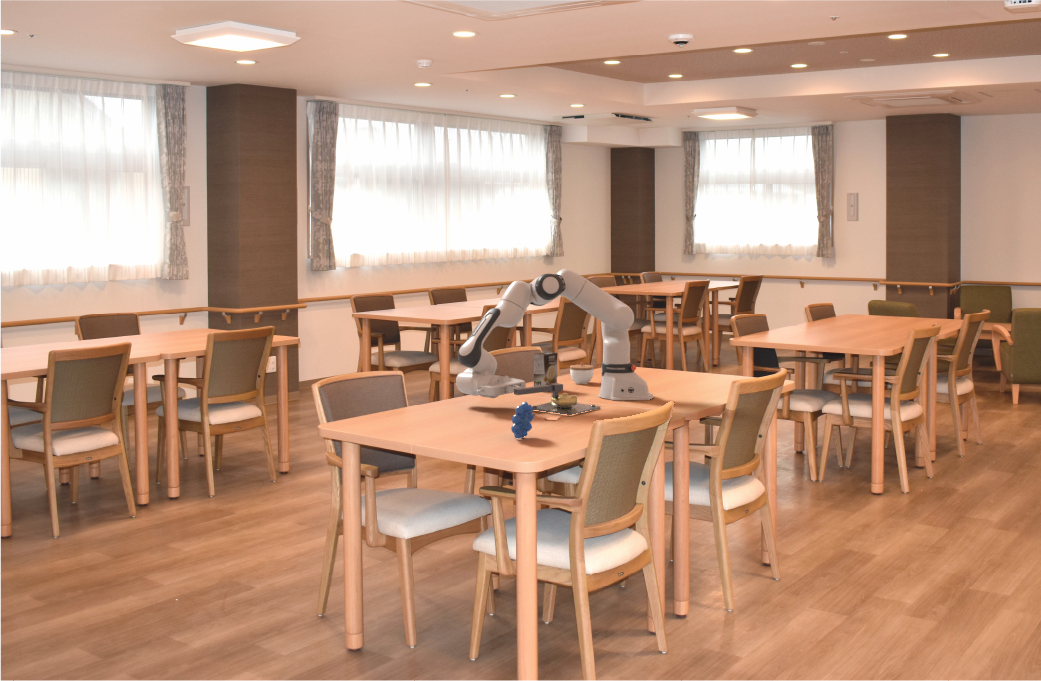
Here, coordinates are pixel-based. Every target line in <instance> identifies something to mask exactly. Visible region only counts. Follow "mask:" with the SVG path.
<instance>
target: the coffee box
mask: <svg viewBox="0 0 1041 681" xmlns="http://www.w3.org/2000/svg"><path fill="white" fill-rule="evenodd" d="M552 383H558V352H554V351H553V352H552V351H543V352H537V353H534V354H533V387H535V386H543V385H548V384H552Z"/></svg>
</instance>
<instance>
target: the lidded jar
mask: <svg viewBox="0 0 1041 681" xmlns="http://www.w3.org/2000/svg"><path fill="white" fill-rule="evenodd" d="M594 370H595V367H594V365H592V364H584V362H583V361H581V362H580V364H572V365H570V366H569V371H570V378H571V380H572V381H573V382H574V384H575V383H577V384H576V385H588V384H589V383H590V382H591V381H592V379H593V377H594Z"/></svg>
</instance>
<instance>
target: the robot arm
mask: <svg viewBox="0 0 1041 681" xmlns="http://www.w3.org/2000/svg"><path fill="white" fill-rule="evenodd" d="M559 296H560V297H561V296H562V297H564V298H565V299H567V300H568V301H570V302H571V303H573V304H574V305H575V306H578V307H579V309H582V310H583V311H584V312H586V313H588V314H590V315H591V316H593V317H594V318H596V319H597V320H599V321H600V323H601V327H600V328H601V335H602V362H601V371H600V372H601V376H602V377H601V383H600V389H599V394H598V397H599V398H602V399H606V400H607V399H608V400H612V401H651V400H653V399H654V398H653V397H654V394H653V393H652V392H649V387H648V383H647V381H646V380H645V379H644V378H642V377H641V376H640V375H638V373H637V372H635V370H637V366H636V365H635V364H633V363H631V342H630V337H629V329H630V328H631V327H632V325H633V324H634V321H635V314H634V311H633V309H632V308H631V307H630V306H628V304H626V303H624V302H623V301H621V300H620V299H618V298H617V297H615V296H613V295H612V294H610V293H608V292H607V291H605V290H603V288H600V287H599V286H598V285H596V284H594V283H593V282H592V281H590V280H588V279H587V278H586V277H584V276H582V275H581V274H579V273H577V272H575V271H573V270H571V269H568V268H562V269H560V270H559V271H557V272H556V273H543V274H541V275H540V276H538V277H536V278H534V279H533V280H532V281H531V282H529V283H527V282H526V281H524V280H514V281H513V282H511V283H510V284H509V285H508V287H507V288H506V289H505V291H504V293H503V294H502V296H501V298H500V299H499V301H498V303H497V305H496V306H495V307H493V308H490V309H489V310H487V312H485V314H484V315H483V316H482V318H481V320H480V321H479V322H478V324H477V325H476V327H475V328H474V329H473V331H472V332H471V334H470V335H469V336H468V337H467V339H466V340H465V341H464V342H463V343H462V344H461V345H460V347H459V348H458V351H457V360H458V362H459V364H461V365H463V366H464V367H466V368H467V369H464V371H462V372H459V373H458V374H457V376H456V378H455V384H456V388H457V389H458V391H459V392H461V393H462V394H466V395H468V396H474V397H475V396H476V397H478V396H480V397H483V398H490V399H496V398H497V397H499V396H503V395H508V394H512V393H513V394H514V389H518V388H526V382H527V381H525V380H523V379H519V378H516V377H515V378H514V377H509V376H508V375H498V374H497V375H496V373H497V371H498V366H499V365H498V364H499V363H498V359H497V358H496V357H495V356H494V355H493V354H491V353H490V352H489V351H487V350H486V349H485V348H484V343H485V341H486V339H487V338H488V336H490V334H491V332H492V331H493V329H495V328H496V327H501V328H502V327H503V328H513V327H516V326H517V325H519V324H520V322H521V321H522V319H523V317H524V315H525V314H526V311H527V310H528V307H530V305H532V306H537V307H542V306H546V305H547V304H550V303H552V302H553V301H554V300H555V299H556V298H558V297H559ZM652 398H653V399H652ZM650 399H651V400H650Z"/></svg>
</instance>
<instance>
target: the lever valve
mask: <svg viewBox="0 0 1041 681" xmlns="http://www.w3.org/2000/svg"><path fill="white" fill-rule="evenodd" d="M563 391H564V384H563V383H558V382H557V383H552V384H548V385H543V386H535V387H534V386H527V387H526V388H518V389H514V392H513V394H514V395H515V396H523V395H530V394H537V393H538V394H539V393H546V392H547V393H549V392H552V394H551V395H550V402H551V404H552V405H557V406H572V405H576V404H577V403H578V395H577V394H571V395H570V394H568V392H563ZM559 392H563V393H562V394H560V393H559Z"/></svg>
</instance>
